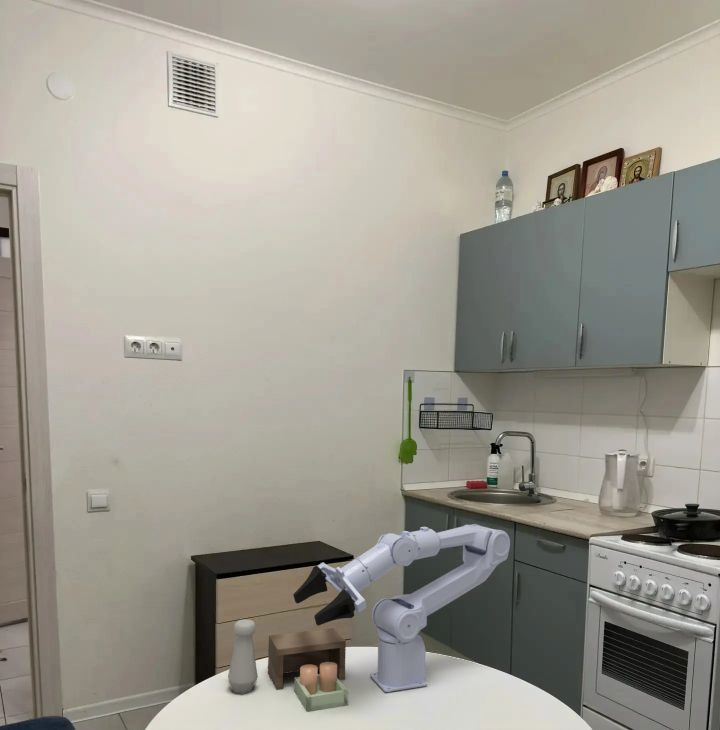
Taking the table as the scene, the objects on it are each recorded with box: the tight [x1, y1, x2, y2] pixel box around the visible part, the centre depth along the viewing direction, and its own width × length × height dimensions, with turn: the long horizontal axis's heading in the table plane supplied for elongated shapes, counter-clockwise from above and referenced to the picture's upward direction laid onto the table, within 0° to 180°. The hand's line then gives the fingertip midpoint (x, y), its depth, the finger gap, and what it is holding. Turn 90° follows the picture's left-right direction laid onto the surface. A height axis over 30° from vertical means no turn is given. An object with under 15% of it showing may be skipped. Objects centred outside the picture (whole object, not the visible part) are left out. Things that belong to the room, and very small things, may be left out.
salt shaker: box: [227, 618, 258, 695], centre depth 120 cm, size 6×6×13 cm
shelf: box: [267, 628, 347, 691], centre depth 126 cm, size 14×8×8 cm, turn 111°
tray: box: [293, 662, 349, 712], centre depth 116 cm, size 8×9×5 cm
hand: (305, 609), depth 114 cm, fingers open, 7 cm apart
